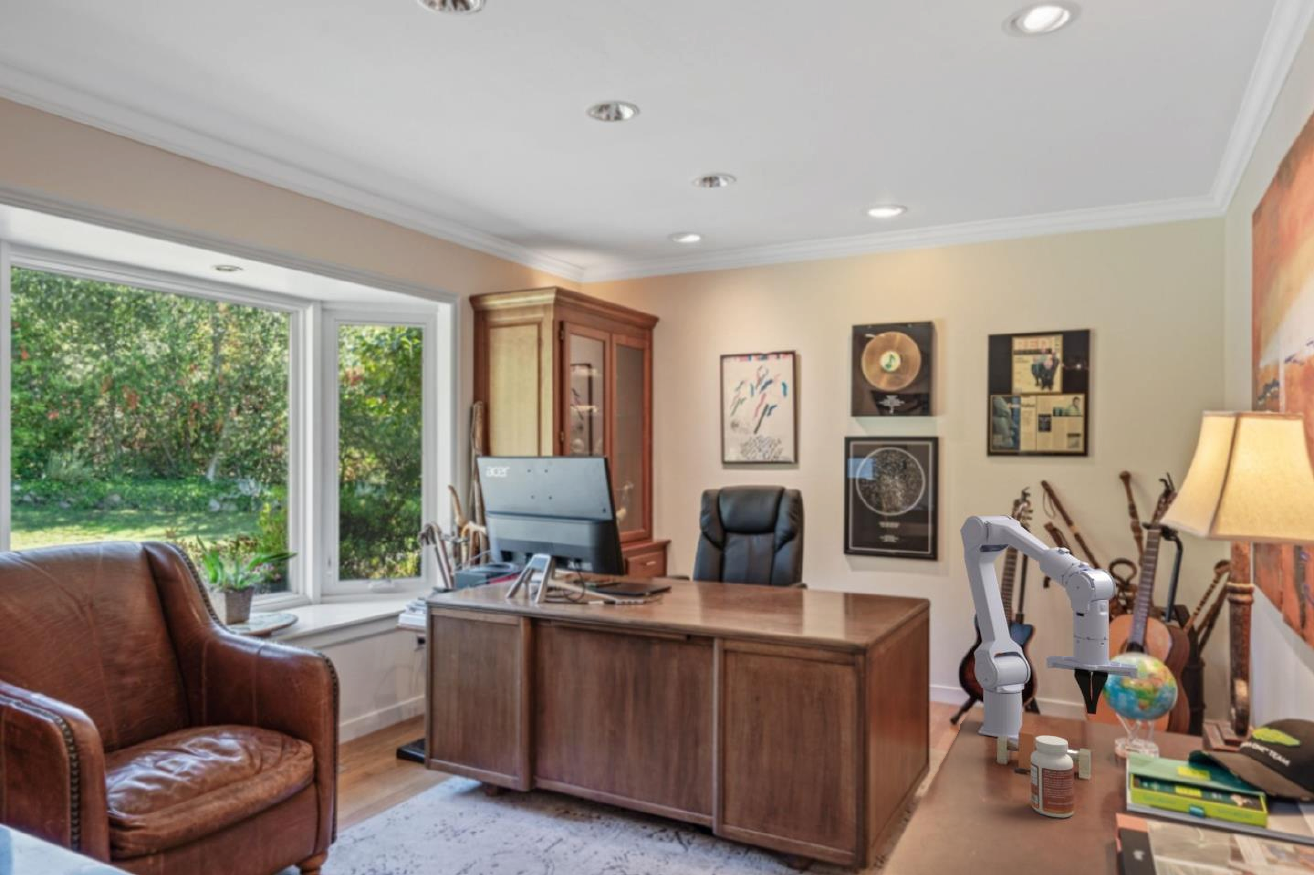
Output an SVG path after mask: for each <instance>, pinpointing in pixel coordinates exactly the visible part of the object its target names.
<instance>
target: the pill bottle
mask: <svg viewBox="0 0 1314 875" xmlns="http://www.w3.org/2000/svg"><path fill="white" fill-rule="evenodd" d="M1035 746H1036V748H1037V750H1036V751H1034V752H1033V753H1032V754H1031V771H1030V792H1031V794H1030V799H1031V800H1030V802H1031V807H1032V809H1033V810H1034V811H1035V812H1037V813H1038V814H1041V815H1044V816H1047V817H1052V818H1060V819H1061V818H1062V819H1063V818H1069V817H1071V816H1072V815H1074V814H1075V789H1074V786H1075V784H1074V780H1075V779H1074V775H1075V774H1074V762H1073V760H1072V759H1071V757H1070V756H1069V755H1067V754H1066V753H1067V752H1068V749H1069V743H1068V741H1067V739H1064V738H1062V737H1059V736H1054V735H1038V737H1036V739H1035Z"/></svg>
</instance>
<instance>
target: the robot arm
mask: <svg viewBox="0 0 1314 875" xmlns="http://www.w3.org/2000/svg"><path fill="white" fill-rule="evenodd" d="M959 531H960V536H961V541H962V544H963V550H964V551H963V552H964V553H963V558H964V564H965V569H966V572H967V576H968V581H969V586H970V590H971V595H972V599H973V605H974V609H975V614H976V618H977V622H978V628H979V632H980V637H981V643H980V644H979V645H978V647H977V648H976V649H975V650H974V652H973V655H974V661H975V662H974V663H975V664H974V675H975V678H976V680H977V683H978V684H979V685H980V688H981V689H982V690H983V696H982V697H983V724H982V726H981V727H980V729H978V734H979V735H984V736H990V737H996V738H998V737H999V736H1000V735H1004V736H1009V739H1013V740H1019V737H1018V732H1019V730H1020V729H1021V727H1022V725H1023V697H1022V696H1023V695H1022V692H1023V691H1022V690H1024V689H1025V684H1027V683H1028V682H1029V680H1030V678H1031V667H1030V664H1029V662H1028V661H1027V659H1026V657H1025V655H1024V652H1023V649H1022V646H1020V645H1019V643H1017V642H1016V641H1014V640H1013V639H1012V638H1011V635H1010V630H1009V626H1008V622H1007V617H1006V613H1005V610H1004V609H1005V608H1004V604H1003V600H1002V597H1001V596H1002V594H1001V591H1000V587H999V583H998V579H997V574H996V570H995V565H994V562H996V559H997V557H998V556H999V555H1001V554H1002V553H1003V552H1004V551H1005V550H1007V549H1008V548H1009V547H1011V548H1014V549H1015V550H1018V551H1019V552H1021V553H1022V554H1024V555H1026V556H1027V557H1029V558H1030V559H1032V560H1034V561H1035V562H1038V565H1039V569H1040V571H1041V573H1043V574H1045V575H1046V576H1047V577H1049V579H1051V580H1052V581H1054V582H1055V583H1057V584H1059V585H1060V586H1061V587H1062V588H1064V589H1065V592H1066V594H1067V597H1068V598H1069V601H1070V608H1071V609H1072V612H1073V614H1072V616H1073V617H1072V619H1073V621H1072V622H1073V624H1072V625H1073V626H1072V630H1073V633H1072V634H1073V656H1062V655H1061V656H1060V655H1050V654H1049V655H1047V656H1046V668H1047V669H1054V668H1055V669H1063V670H1071V671H1074V674H1073V677H1074V679H1075V681H1076V683H1077V684H1078V687H1079V689H1080V692H1081V694H1082V697H1083V700H1084V703H1085V704H1084V705H1085V708H1086V709H1085V710H1086V713H1087V714H1090V715H1096V714H1097V710H1098V702H1099V699H1100V696H1101V693H1102V691H1103V689H1104V687H1105V686H1106V683H1107V681H1108V678H1109V675H1110V676H1118V677H1119V676H1120V677H1128V678H1130V679H1135V680H1136V679H1138V677H1139V672H1138V669H1139V668H1138V665H1136V664H1127V663H1123V662H1117V661H1111V660H1110V643H1109V642H1110V627H1109V626H1110V621H1109V620H1110V616H1109V614H1110V612H1109V611H1110V609H1109V605H1110V604H1109V601H1110V600H1111V599H1113V598H1114V596H1115V595H1116V591H1117V585H1116V581H1115V579H1114V578H1113V576H1112V575H1111V573H1109V572H1108V571H1107V570H1106V569H1104V568H1095V569H1094V568H1092V567H1091V566H1090V564H1089V563H1088V562H1086V561H1082V560H1079V559H1078V558H1076V557H1075V556H1074V555H1072V554H1070V550H1069V549H1067V547H1057V546H1054V547H1051V548H1050V546H1048V545H1047V544H1045V543H1043V542H1042V541H1041V540H1040V539H1038V538H1037V537H1036V536H1035V535H1033V534H1032V533H1030V532H1029V531H1028V530H1026V529H1025V528H1024V527H1023V526H1022V525H1021V522H1020V521H1019V520H1017V519H1014V518H1013V517H1011V516H1010V515H1007V514H1001V515H984V516H978V515H971V516H969V517H967V518H966V519H965V521H964V522H963V525H962V526H961V528H960V530H959ZM997 654H1001V655H997Z"/></svg>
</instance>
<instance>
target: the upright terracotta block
mask: <svg viewBox="0 0 1314 875" xmlns="http://www.w3.org/2000/svg"><path fill="white" fill-rule="evenodd" d="M1038 736H1039V725H1036V724H1031V723H1023V722H1022V727H1021V729H1020V730H1019V732H1018V737H1019V752H1018V768H1021V769H1027V770H1028V771H1030V772H1031V754H1032V753H1033V752H1034V751H1035V739H1036V737H1038Z"/></svg>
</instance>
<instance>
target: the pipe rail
mask: <svg viewBox="0 0 1314 875" xmlns="http://www.w3.org/2000/svg"><path fill="white" fill-rule="evenodd" d="M1036 750H1037V748H1036V746H1035V751H1036ZM1010 751H1012V752H1017V753H1019V740H1013V739H1009V736H1004V735H1000V736H999V737H997V739H996V753H997V754H996V755H997V756H996V759H997V760H996V762H997V763H996V764H1001V765H1008V763H1009V761H1010ZM1066 754H1067V755H1069V756H1070V757H1071V759H1072V760H1073V763H1078V778H1079V779H1083V780H1087V781H1088V780H1090V778H1091V775H1092V772H1091V768H1092V766H1091V765H1092V764H1091V763H1092V761H1091V760H1092V759H1091V755H1092V754H1091V749H1087V748H1081V747H1080V749H1079V750H1078V749H1073V748H1068V752H1067V753H1066ZM1014 773H1017V774H1021V775H1025V776H1026V775H1027V776H1028V774H1029V770H1027V769H1021V768H1019V767H1015V769H1014Z"/></svg>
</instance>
